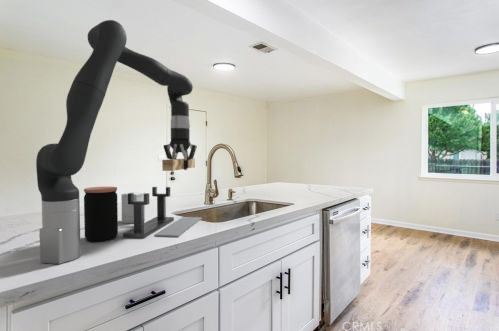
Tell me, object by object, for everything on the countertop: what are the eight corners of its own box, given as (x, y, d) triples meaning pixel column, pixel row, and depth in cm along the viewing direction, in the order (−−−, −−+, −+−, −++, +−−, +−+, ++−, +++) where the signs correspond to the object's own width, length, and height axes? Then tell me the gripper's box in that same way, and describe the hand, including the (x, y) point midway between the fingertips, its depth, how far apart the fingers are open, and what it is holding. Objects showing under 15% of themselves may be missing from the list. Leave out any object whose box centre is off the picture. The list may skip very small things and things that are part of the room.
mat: (178, 237, 108) (178, 235, 108) (154, 236, 109) (154, 234, 109) (201, 218, 138) (201, 217, 138) (182, 218, 139) (182, 216, 139)
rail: (172, 170, 109) (172, 159, 109) (162, 170, 110) (162, 159, 110) (194, 167, 135) (194, 158, 135) (186, 167, 136) (186, 158, 135)
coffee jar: (109, 232, 114) (108, 185, 113) (123, 237, 107) (122, 188, 106) (79, 238, 106) (78, 188, 105) (92, 244, 99) (91, 190, 98)
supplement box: (136, 223, 128) (136, 194, 128) (121, 222, 130) (120, 193, 129) (145, 219, 135) (145, 192, 135) (131, 219, 137) (130, 191, 136)
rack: (144, 238, 107) (143, 195, 106) (123, 237, 108) (122, 194, 107) (173, 220, 134) (173, 186, 134) (156, 219, 135) (156, 185, 135)
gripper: (159, 127, 119) (159, 170, 120) (194, 126, 117) (194, 170, 118) (167, 128, 126) (167, 168, 127) (199, 128, 124) (199, 169, 125)
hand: (180, 169), depth 122 cm, fingers closed on rail, 4 cm apart
